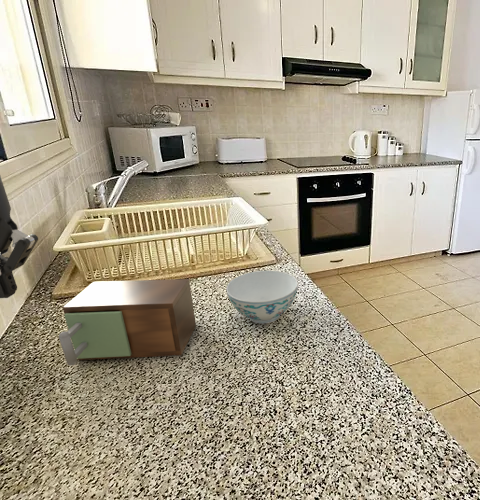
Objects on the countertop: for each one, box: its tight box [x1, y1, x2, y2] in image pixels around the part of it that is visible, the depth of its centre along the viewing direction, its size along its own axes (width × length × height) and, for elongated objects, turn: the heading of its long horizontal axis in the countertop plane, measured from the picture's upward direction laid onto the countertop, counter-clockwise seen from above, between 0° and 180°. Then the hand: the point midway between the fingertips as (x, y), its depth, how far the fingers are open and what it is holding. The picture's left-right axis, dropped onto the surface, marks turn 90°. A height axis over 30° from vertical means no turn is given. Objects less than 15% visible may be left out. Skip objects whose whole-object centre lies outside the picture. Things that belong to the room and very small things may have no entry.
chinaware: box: [225, 269, 299, 325], centre depth 82 cm, size 15×15×8 cm
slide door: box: [58, 311, 131, 367], centre depth 63 cm, size 9×5×9 cm, turn 96°
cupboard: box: [62, 278, 197, 361], centre depth 71 cm, size 18×10×11 cm, turn 96°
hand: (5, 295), depth 57 cm, fingers closed
